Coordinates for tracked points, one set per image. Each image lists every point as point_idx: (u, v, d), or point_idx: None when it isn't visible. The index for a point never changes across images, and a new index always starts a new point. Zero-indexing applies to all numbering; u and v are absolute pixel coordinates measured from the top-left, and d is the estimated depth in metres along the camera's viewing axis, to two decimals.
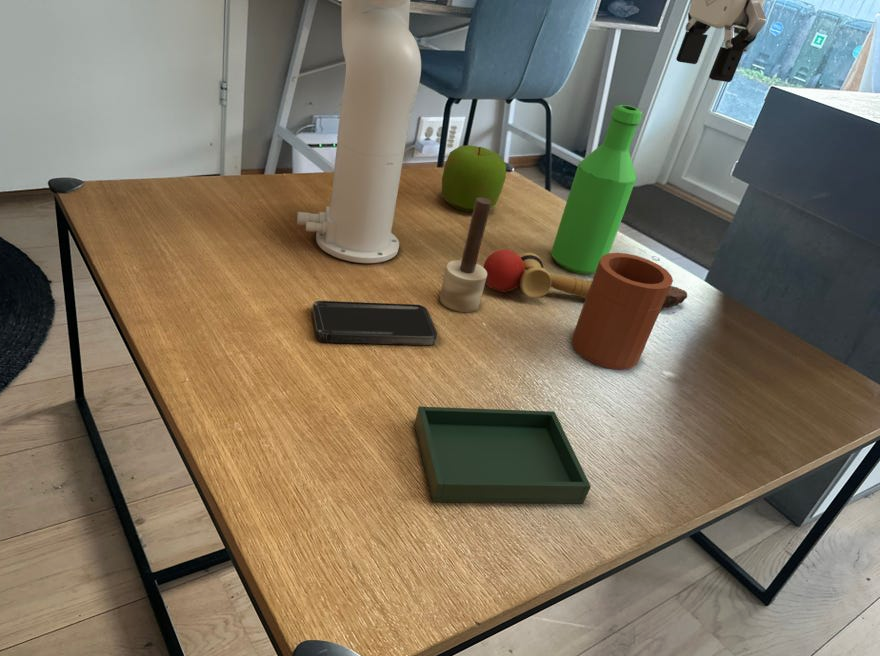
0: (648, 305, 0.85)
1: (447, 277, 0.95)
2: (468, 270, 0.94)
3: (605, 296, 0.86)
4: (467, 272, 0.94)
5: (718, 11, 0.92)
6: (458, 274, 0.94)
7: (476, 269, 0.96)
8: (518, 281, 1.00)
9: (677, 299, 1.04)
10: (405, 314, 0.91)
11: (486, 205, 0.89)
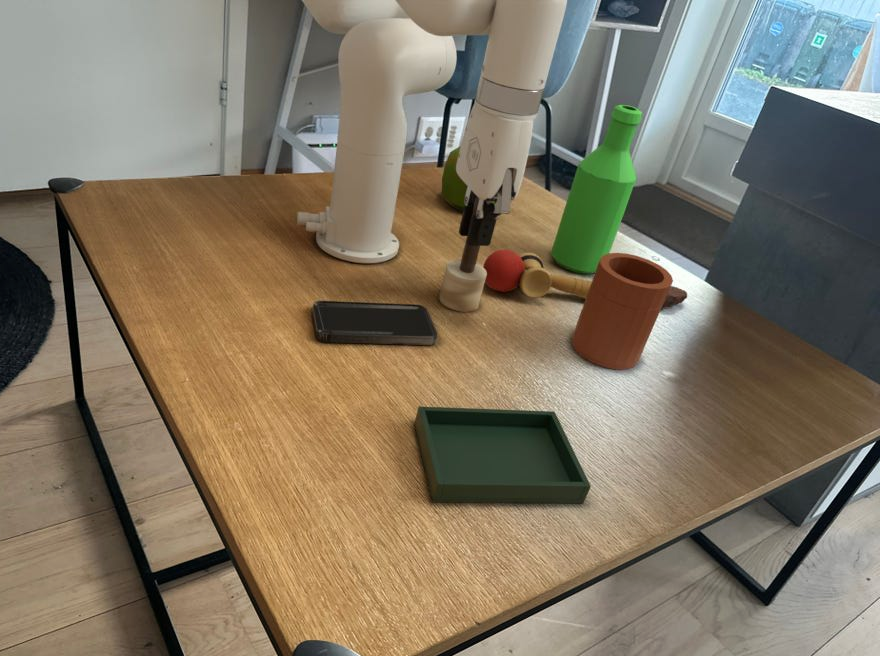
0: (648, 305, 0.85)
1: (446, 276, 0.95)
2: (468, 269, 0.94)
3: (605, 296, 0.86)
4: (467, 272, 0.94)
5: (478, 182, 0.84)
6: (458, 274, 0.94)
7: (476, 269, 0.96)
8: (518, 281, 1.00)
9: (677, 299, 1.04)
10: (405, 314, 0.91)
11: None
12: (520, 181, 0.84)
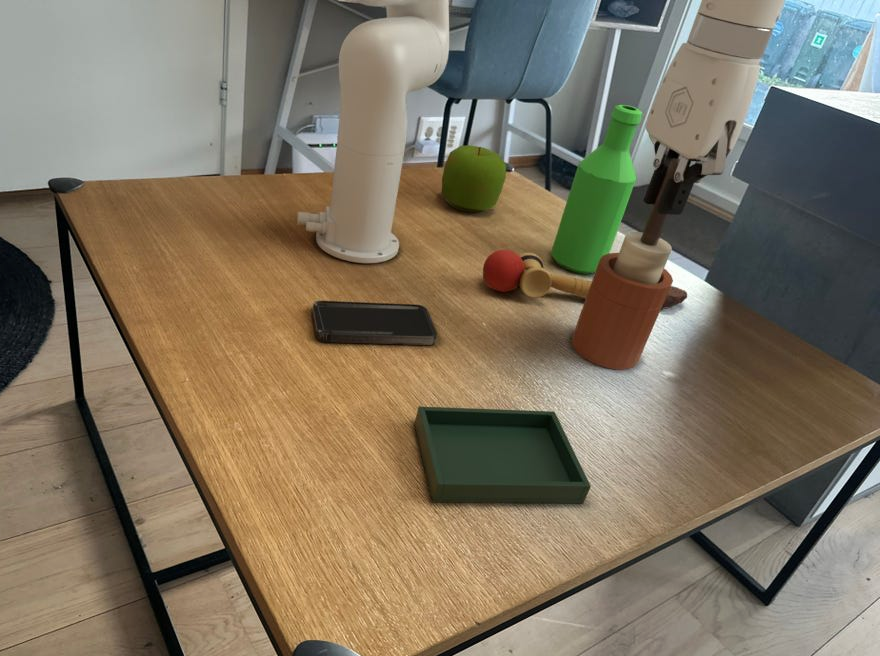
0: (648, 305, 0.85)
1: (627, 250, 0.84)
2: (652, 242, 0.84)
3: (605, 296, 0.86)
4: (651, 245, 0.84)
5: (688, 138, 0.74)
6: (642, 246, 0.83)
7: (658, 242, 0.85)
8: (518, 281, 1.00)
9: (677, 299, 1.04)
10: (405, 314, 0.91)
11: None
12: (737, 137, 0.73)
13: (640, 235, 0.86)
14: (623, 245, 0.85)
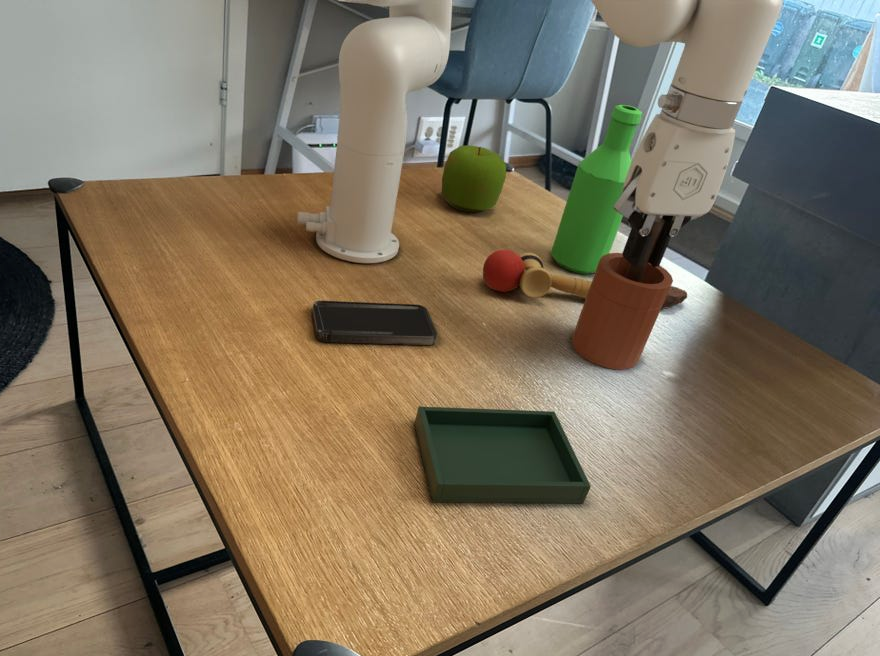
0: (648, 305, 0.85)
1: None
2: None
3: (605, 296, 0.86)
4: None
5: (703, 201, 0.80)
6: None
7: None
8: (518, 281, 1.00)
9: (677, 299, 1.04)
10: (405, 314, 0.91)
11: None
12: None
13: None
14: None
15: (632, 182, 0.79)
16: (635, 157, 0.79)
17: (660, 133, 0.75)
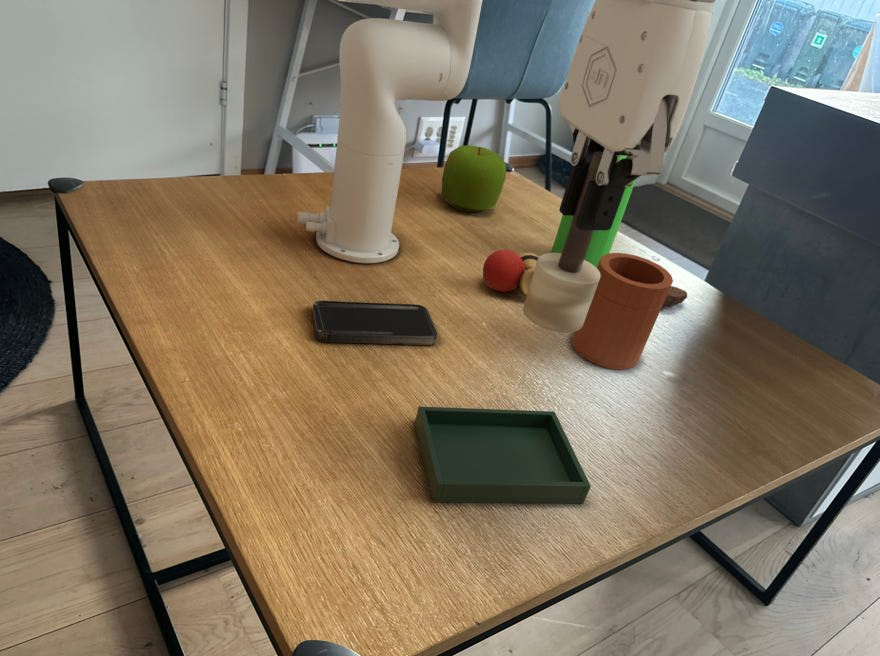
0: (648, 305, 0.85)
1: (539, 279, 0.61)
2: (573, 267, 0.60)
3: (605, 296, 0.86)
4: (571, 271, 0.61)
5: (610, 121, 0.51)
6: (558, 274, 0.60)
7: (582, 267, 0.62)
8: (518, 281, 1.00)
9: (677, 299, 1.04)
10: (405, 314, 0.91)
11: None
12: (681, 119, 0.50)
13: (559, 257, 0.63)
14: (535, 271, 0.62)
15: None
16: None
17: None
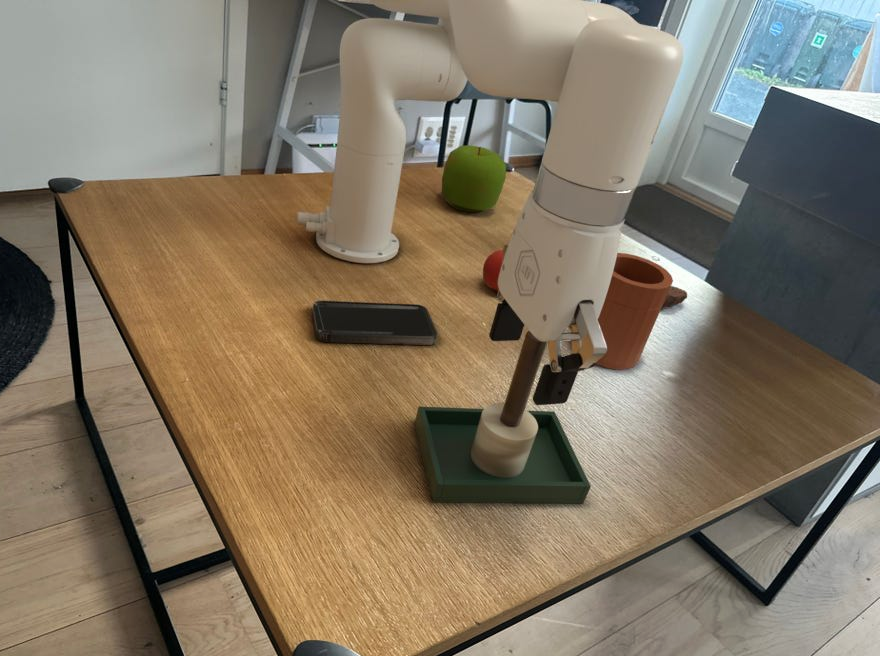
0: (648, 305, 0.85)
1: (482, 432, 0.68)
2: (513, 423, 0.67)
3: None
4: (511, 426, 0.68)
5: (535, 315, 0.58)
6: (499, 430, 0.67)
7: (522, 419, 0.69)
8: None
9: (677, 299, 1.04)
10: (405, 314, 0.91)
11: (542, 344, 0.62)
12: (597, 316, 0.57)
13: (502, 408, 0.70)
14: (479, 423, 0.69)
15: None
16: None
17: None
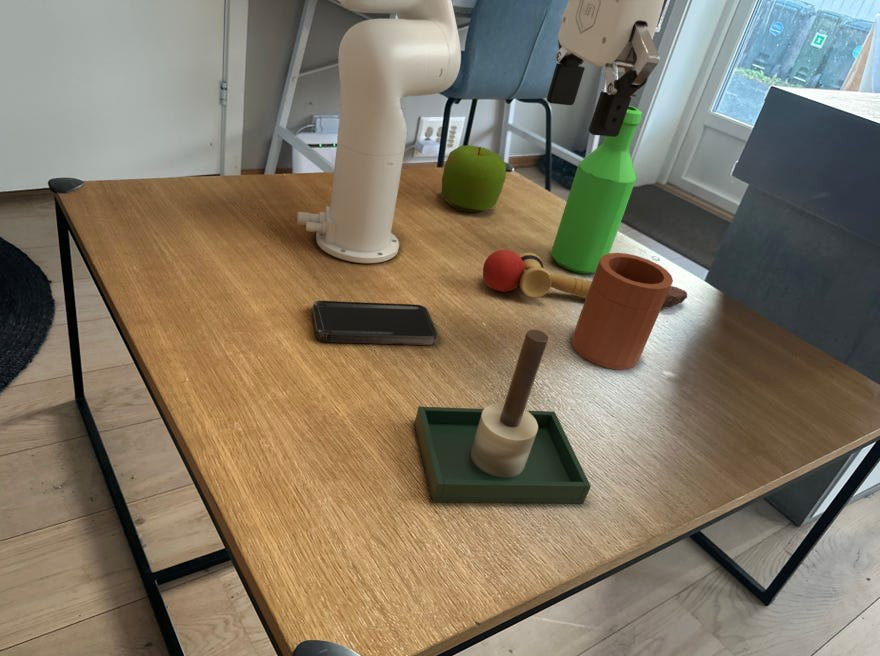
0: (648, 305, 0.85)
1: (482, 432, 0.68)
2: (513, 423, 0.67)
3: (605, 296, 0.86)
4: (511, 426, 0.68)
5: (595, 43, 0.66)
6: (499, 430, 0.67)
7: (522, 419, 0.69)
8: (518, 281, 1.00)
9: (677, 299, 1.04)
10: (405, 314, 0.91)
11: (542, 344, 0.62)
12: None
13: (502, 408, 0.70)
14: (479, 423, 0.69)
15: None
16: None
17: None
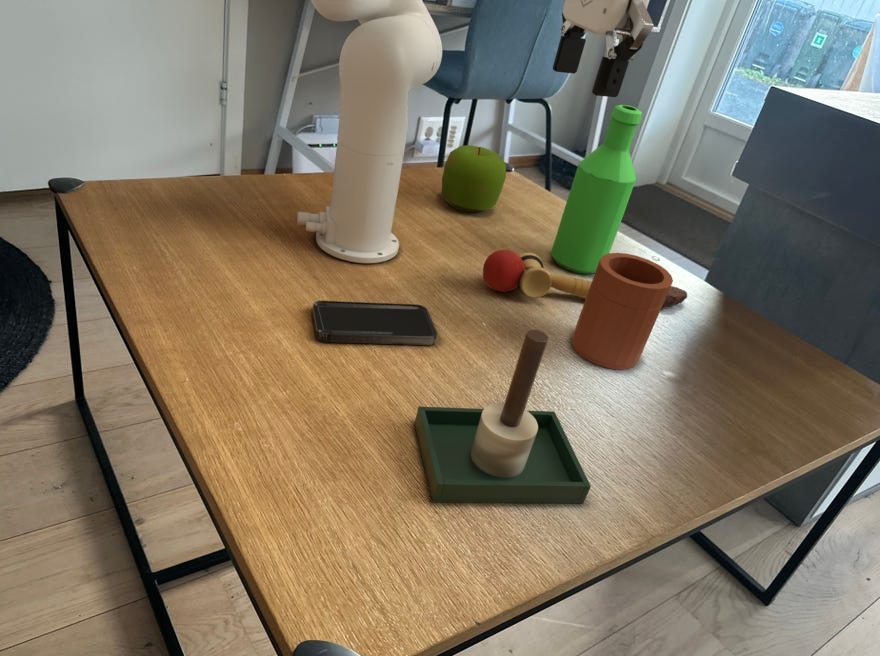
0: (648, 305, 0.85)
1: (482, 432, 0.68)
2: (513, 423, 0.67)
3: (605, 296, 0.86)
4: (511, 426, 0.68)
5: (597, 14, 0.76)
6: (499, 430, 0.67)
7: (522, 419, 0.69)
8: (518, 281, 1.00)
9: (677, 299, 1.04)
10: (405, 314, 0.91)
11: (542, 344, 0.62)
12: None
13: (502, 408, 0.70)
14: (479, 423, 0.69)
15: None
16: None
17: None
